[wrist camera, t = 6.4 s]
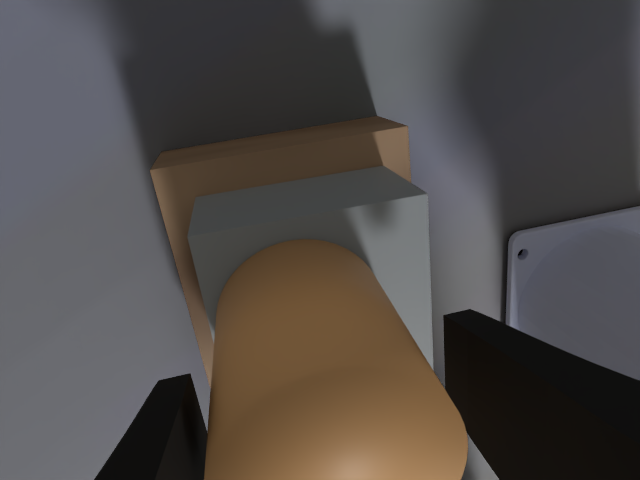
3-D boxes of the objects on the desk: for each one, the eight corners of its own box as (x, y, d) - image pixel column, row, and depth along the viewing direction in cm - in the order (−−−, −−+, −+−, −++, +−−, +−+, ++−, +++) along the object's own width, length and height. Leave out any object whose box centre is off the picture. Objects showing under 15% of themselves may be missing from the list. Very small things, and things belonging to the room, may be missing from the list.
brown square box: (388, 295, 21) (419, 336, 18) (211, 334, 20) (210, 387, 17) (373, 114, 18) (408, 126, 15) (162, 149, 17) (149, 170, 14)
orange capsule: (386, 368, 13) (464, 535, 9) (232, 398, 13) (230, 592, 8) (378, 226, 12) (472, 342, 7) (200, 254, 11) (175, 398, 6)
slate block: (394, 323, 17) (433, 383, 14) (232, 358, 16) (235, 430, 13) (383, 165, 15) (427, 194, 12) (195, 197, 14) (187, 237, 11)
